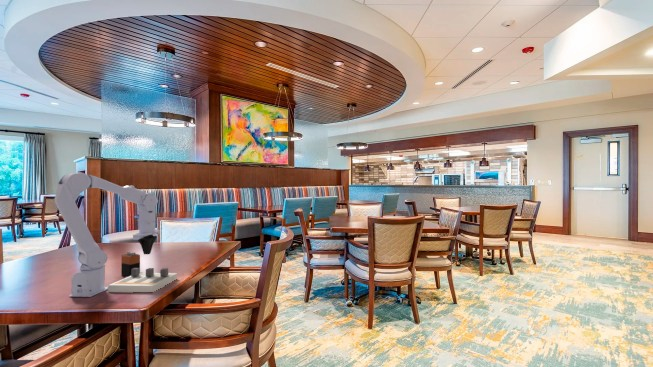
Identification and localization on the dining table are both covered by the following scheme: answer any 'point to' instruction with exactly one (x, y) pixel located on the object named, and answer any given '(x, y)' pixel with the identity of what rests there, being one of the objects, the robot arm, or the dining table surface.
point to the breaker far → (135, 272)
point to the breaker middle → (149, 272)
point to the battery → (129, 263)
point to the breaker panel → (142, 283)
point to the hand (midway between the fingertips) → (147, 253)
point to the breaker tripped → (164, 272)
